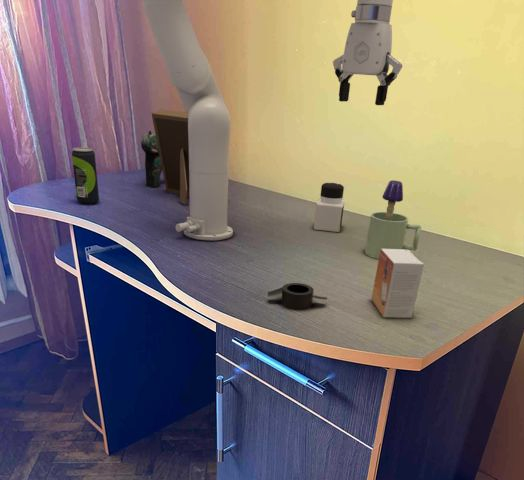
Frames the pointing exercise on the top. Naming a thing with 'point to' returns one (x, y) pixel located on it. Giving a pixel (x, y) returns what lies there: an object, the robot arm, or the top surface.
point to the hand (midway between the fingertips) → (361, 103)
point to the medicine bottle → (329, 208)
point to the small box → (396, 283)
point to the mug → (389, 234)
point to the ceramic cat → (151, 159)
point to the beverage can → (85, 175)
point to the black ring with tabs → (295, 295)
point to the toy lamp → (392, 197)
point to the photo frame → (173, 150)
